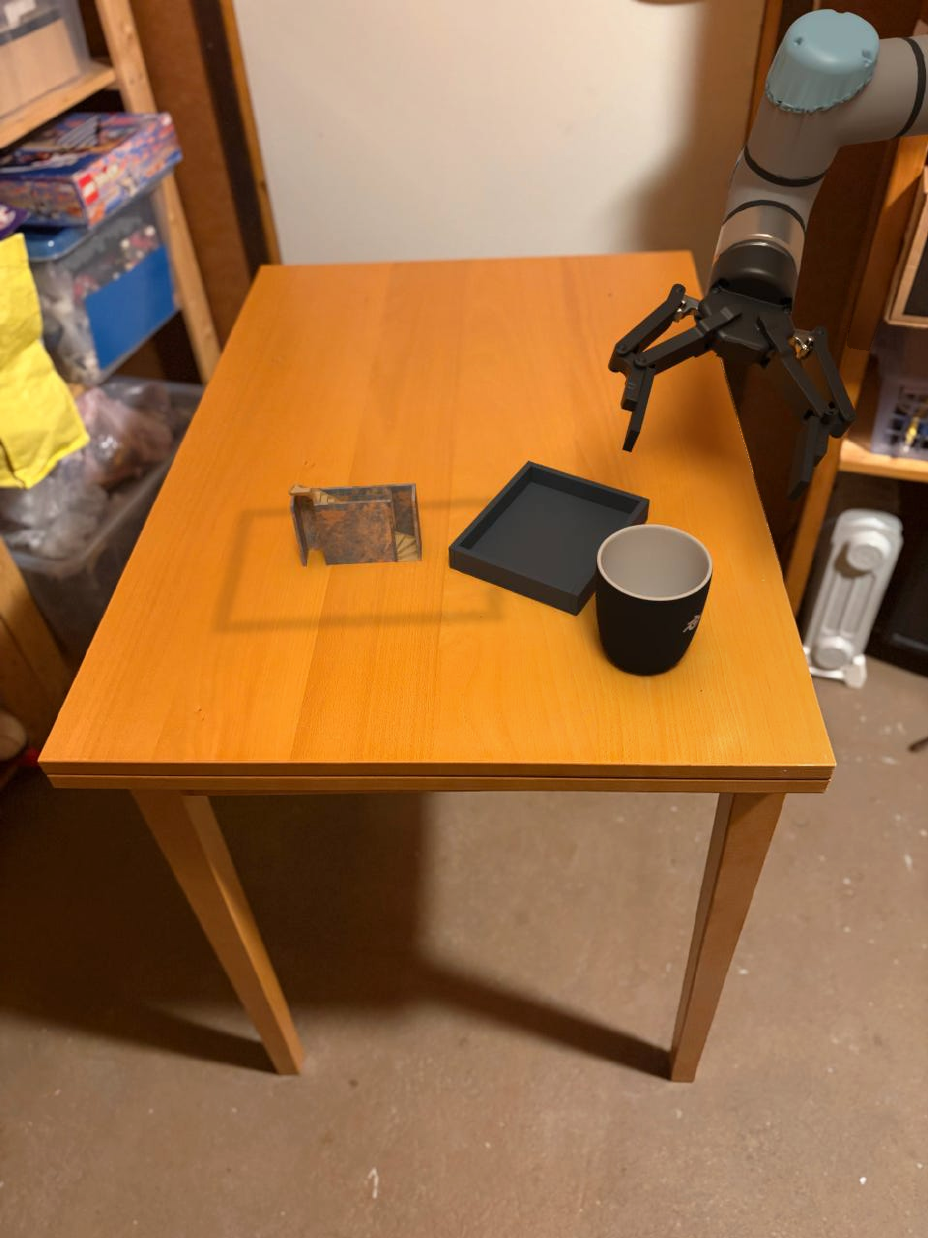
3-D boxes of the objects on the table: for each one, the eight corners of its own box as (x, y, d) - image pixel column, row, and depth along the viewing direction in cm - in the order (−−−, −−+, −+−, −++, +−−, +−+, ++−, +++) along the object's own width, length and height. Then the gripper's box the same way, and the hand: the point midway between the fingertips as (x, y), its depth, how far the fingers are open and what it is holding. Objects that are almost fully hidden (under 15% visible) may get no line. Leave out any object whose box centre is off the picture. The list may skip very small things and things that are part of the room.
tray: (647, 519, 91) (650, 498, 90) (577, 616, 82) (578, 596, 81) (528, 480, 97) (528, 460, 95) (449, 567, 88) (448, 547, 86)
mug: (686, 699, 75) (703, 610, 68) (578, 675, 77) (584, 586, 70) (709, 600, 83) (726, 511, 76) (610, 580, 85) (618, 492, 78)
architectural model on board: (303, 572, 89) (284, 491, 82) (306, 551, 91) (288, 470, 84) (421, 567, 88) (412, 485, 82) (422, 546, 91) (413, 464, 84)
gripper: (870, 344, 85) (846, 535, 76) (607, 267, 85) (553, 448, 76) (914, 283, 78) (893, 485, 69) (628, 200, 79) (571, 390, 70)
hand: (714, 466), depth 73 cm, fingers open, 13 cm apart
